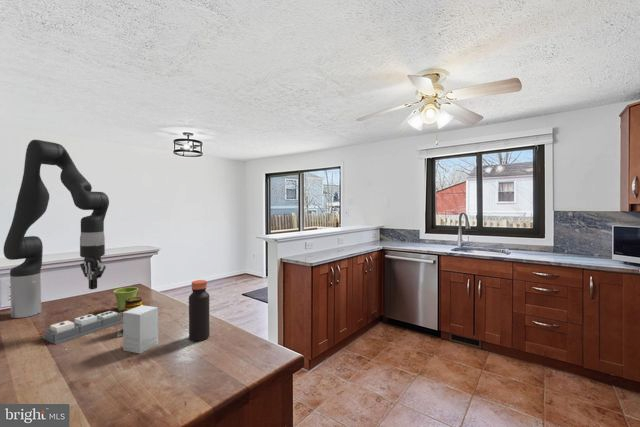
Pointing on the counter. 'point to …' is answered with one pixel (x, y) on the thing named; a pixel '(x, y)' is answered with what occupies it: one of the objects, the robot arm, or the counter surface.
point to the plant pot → (124, 296)
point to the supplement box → (140, 329)
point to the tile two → (85, 319)
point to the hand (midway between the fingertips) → (93, 288)
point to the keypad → (82, 329)
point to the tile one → (61, 326)
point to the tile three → (106, 314)
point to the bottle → (199, 311)
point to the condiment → (130, 305)
